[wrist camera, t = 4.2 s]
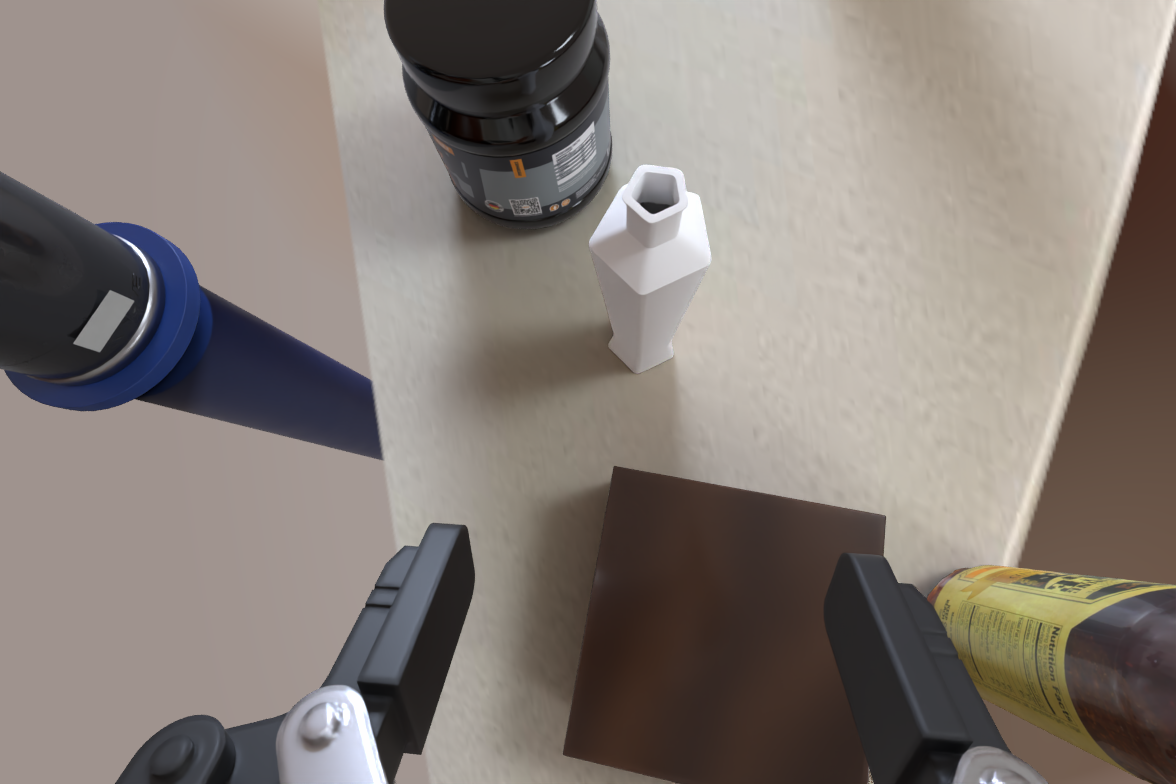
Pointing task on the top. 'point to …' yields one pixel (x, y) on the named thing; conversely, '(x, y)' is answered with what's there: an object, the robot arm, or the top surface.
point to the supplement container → (511, 100)
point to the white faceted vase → (650, 263)
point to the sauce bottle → (1072, 657)
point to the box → (716, 637)
